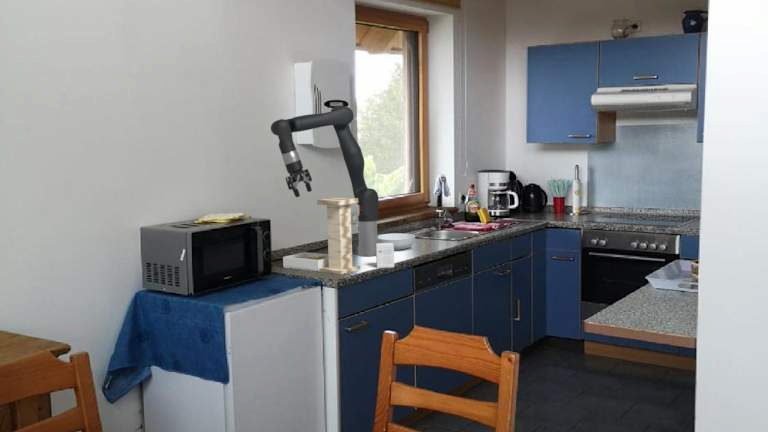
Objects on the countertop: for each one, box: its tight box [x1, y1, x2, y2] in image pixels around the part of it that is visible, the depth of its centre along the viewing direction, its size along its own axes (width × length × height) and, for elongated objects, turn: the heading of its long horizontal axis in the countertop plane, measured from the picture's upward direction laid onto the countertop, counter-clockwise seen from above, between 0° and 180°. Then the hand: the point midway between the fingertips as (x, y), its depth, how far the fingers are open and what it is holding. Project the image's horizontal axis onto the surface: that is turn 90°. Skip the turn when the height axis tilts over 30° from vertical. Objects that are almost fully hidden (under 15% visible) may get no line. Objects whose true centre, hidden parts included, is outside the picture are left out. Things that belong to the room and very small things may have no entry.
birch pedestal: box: [316, 196, 361, 275], centre depth 349 cm, size 14×12×32 cm
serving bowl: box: [377, 232, 416, 252], centre depth 408 cm, size 21×21×7 cm
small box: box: [375, 243, 395, 269], centre depth 358 cm, size 8×6×10 cm
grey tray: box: [282, 251, 329, 273], centre depth 361 cm, size 15×21×5 cm
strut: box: [294, 253, 326, 260], centre depth 361 cm, size 6×16×5 cm, turn 54°
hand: (304, 194), depth 368 cm, fingers open, 8 cm apart
